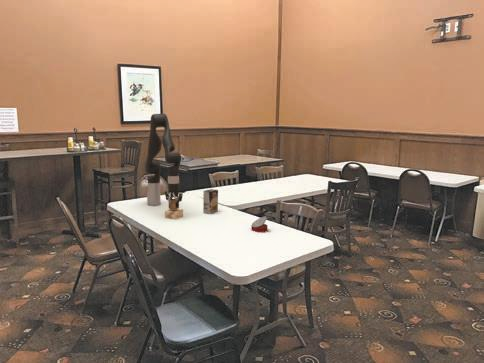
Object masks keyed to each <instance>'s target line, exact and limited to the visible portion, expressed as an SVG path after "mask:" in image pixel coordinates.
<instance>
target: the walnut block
mask: <svg viewBox="0 0 484 363" xmlns="http://www.w3.org/2000/svg"><path fill="white" fill-rule="evenodd" d="M167 201H168V210H169V209H174V210H175V209H180V206H179V207H178V208H176V200H175V199H174V198H172V199H170V200H167Z"/></svg>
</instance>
